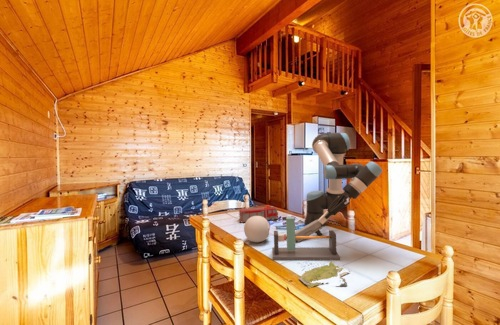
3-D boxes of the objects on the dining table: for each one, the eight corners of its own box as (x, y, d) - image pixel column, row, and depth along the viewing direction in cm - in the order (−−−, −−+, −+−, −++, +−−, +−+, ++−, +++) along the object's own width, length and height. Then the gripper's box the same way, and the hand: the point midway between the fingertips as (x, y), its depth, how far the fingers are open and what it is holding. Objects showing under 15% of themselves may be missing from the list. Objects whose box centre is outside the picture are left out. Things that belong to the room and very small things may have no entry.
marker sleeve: (294, 248, 124) (294, 217, 124) (295, 250, 121) (294, 218, 121) (286, 248, 125) (286, 217, 124) (287, 250, 122) (286, 218, 121)
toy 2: (275, 242, 141) (274, 216, 140) (252, 248, 134) (251, 221, 133) (261, 235, 154) (261, 211, 153) (240, 240, 147) (239, 215, 146)
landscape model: (324, 301, 86) (325, 295, 86) (295, 279, 99) (295, 274, 98) (364, 281, 100) (364, 276, 99) (334, 264, 112) (334, 259, 112)
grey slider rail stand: (333, 250, 127) (333, 228, 127) (340, 260, 115) (340, 236, 115) (272, 250, 130) (271, 229, 129) (272, 260, 118) (272, 236, 118)
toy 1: (279, 220, 188) (278, 207, 187) (241, 224, 181) (240, 210, 180) (274, 217, 198) (274, 204, 197) (238, 220, 191) (238, 207, 191)
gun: (327, 232, 152) (324, 217, 151) (297, 250, 140) (294, 234, 138) (324, 231, 154) (321, 216, 153) (294, 249, 142) (291, 233, 140)
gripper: (344, 181, 126) (312, 213, 128) (353, 185, 113) (317, 220, 115) (355, 191, 126) (322, 223, 128) (365, 196, 113) (328, 231, 115)
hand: (320, 222), depth 122 cm, fingers closed
